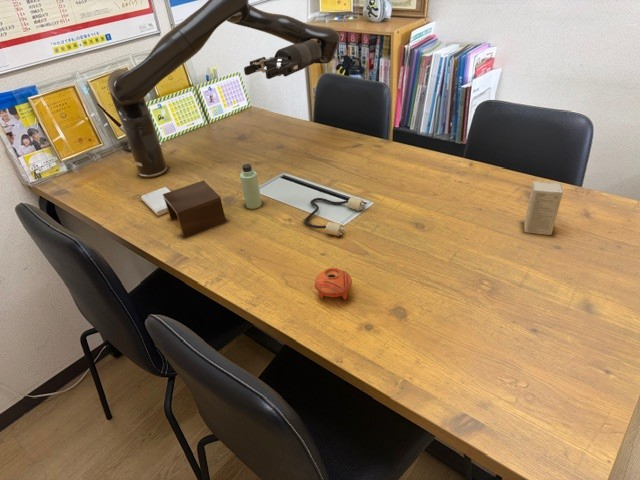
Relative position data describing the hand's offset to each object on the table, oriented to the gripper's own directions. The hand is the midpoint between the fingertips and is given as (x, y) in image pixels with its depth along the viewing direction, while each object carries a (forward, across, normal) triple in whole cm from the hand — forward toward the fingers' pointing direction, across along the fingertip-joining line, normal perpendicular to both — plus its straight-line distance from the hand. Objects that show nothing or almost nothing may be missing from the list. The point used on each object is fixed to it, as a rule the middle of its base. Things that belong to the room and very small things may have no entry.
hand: (255, 73), depth 125 cm
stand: (+30, 0, +32) cm, 44 cm away
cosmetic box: (-13, +78, +32) cm, 85 cm away
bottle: (+16, +8, +32) cm, 37 cm away
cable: (+10, +31, +32) cm, 46 cm away
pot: (+33, +50, +32) cm, 68 cm away
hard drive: (+30, -17, +32) cm, 47 cm away
